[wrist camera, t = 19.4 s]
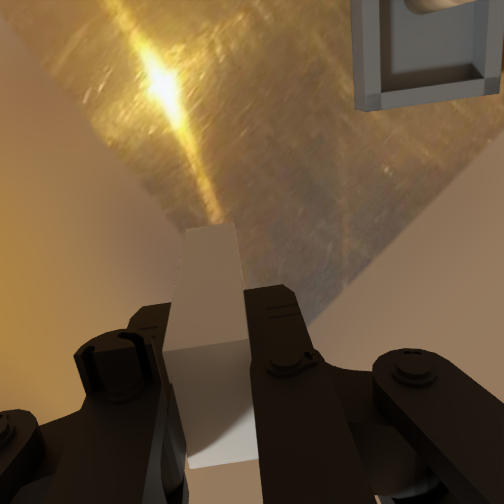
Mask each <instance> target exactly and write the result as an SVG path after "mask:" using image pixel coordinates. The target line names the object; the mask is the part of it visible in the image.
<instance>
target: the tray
mask: <svg viewBox="0 0 504 504" xmlns="http://www.w3.org/2000/svg"><path fill="white" fill-rule="evenodd" d="M350 3H351V27H352V52H353V76H354V101H355V109H356V110H360V111H363V112H370V111H377V110H384V109H391V108H398V107H405V106H413V105H420V104H427V103H434V102H441V101H448V100H455V99H462V98H470V97H477V96H484V95H491V94H498V93H499V91H500V77H501V63H502V50H503V36H504V0H476V1H472V2H469V3H465V4H461V5H458V6H454V7H450V8H447V9H443V10H439V11H436V12H432V13H428V14H424V15H417V14H414V13H412V12H410V11H409V10H408V9H407V7H406V6H405V4H404V1H403V0H350Z"/></svg>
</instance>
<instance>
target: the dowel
mask: <svg viewBox="0 0 504 504" xmlns="http://www.w3.org/2000/svg"><path fill="white" fill-rule="evenodd" d="M403 1H404V4H405V6H406V7H407V9H408V10H409V11H410V12H412V13H414V14H417V15H424V14H428V13H432V12H436V11H439V10H443V9H447V8H450V7H454V6H458V5H461V4H465V3H469V2H472V1H476V0H403Z"/></svg>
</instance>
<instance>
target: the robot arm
mask: <svg viewBox="0 0 504 504" xmlns="http://www.w3.org/2000/svg"><path fill="white" fill-rule="evenodd" d="M73 356H74V359H75V362H76V365H77V368H78V371H79V375H80V378H81V381H82V384H83V387H84V390H85V393H86V398H85V400H84V403H83V405H82V408H81V409H80V410H79V411H76V412H74V413H72V414H70V415H67V416H65V417H62V418H59V419H57V420H54V421H51V422H49V423H46V424H43V425H40V426H39V425H38V422H37V420H36V417H35V416H34V415H33V414H31V412H30V411H25V410H20V409H15V410H7V411H2V412H0V504H188V502H189V490H188V484H187V480H186V476H185V472H184V469H185V455H186V454H187V458H188V462H189V466H190V469H194V468H200V467H206V466H213V465H220V464H226V463H233V462H239V461H246V460H252V459H259V467H260V477H261V486H262V495H263V504H377V502H376V499H375V496H374V495H378V497H379V499H380V502H381V504H504V403H502V402H501V401H500V400H499V399H497V398H496V397H495V396H494V395H492V394H491V393H490V392H488V391H487V390H486V389H484V388H483V387H482V386H481V385H479V384H478V383H477V382H476V381H474V380H473V379H472V378H470V377H469V376H468V375H467V374H465V373H464V372H463V371H461V370H460V369H459V368H458V367H456V366H455V365H454V364H453V363H451V362H450V361H449V360H447V359H445V358H443V357H441V356H440V355H438V354H436V353H433V352H429V351H426V350H422V349H410V348H403V349H398V350H393V351H389V352H387V353H385V354H383V355H381V356H379V357H378V359H377V360H376V361H375V362H374V364H373V368H372V371H356V370H348V369H342V368H338V367H336V366H332V365H330V364H328V363H326V362H325V360H324V358H323V357H322V356H321V354H320V353H319V352H318V351H317V350H315V349H314V348H313V345H312V342H311V339H310V336H309V334H308V331H307V328H306V325H305V322H304V319H303V316H302V315H301V311H300V308H299V306H298V302H297V299H296V296H295V293H294V292H293V291H291V290H290V289H289V288H287V287H286V286H284V285H283V284H282V285H275V286H268V287H261V288H254V289H248V290H245V289H244V283H243V276H242V269H241V263H240V256H239V249H238V243H237V236H236V229H235V222H232V223H225V224H218V225H211V226H204V227H197V228H190V229H186V231H185V236H184V242H183V247H182V252H181V257H180V262H179V267H178V273H177V278H176V283H175V288H174V293H173V298H172V302H170V303H163V304H156V305H149V306H143V307H142V308H140V309H139V310H138V311H137V312H136V313H135V314H134V315H133V316H132V317H131V318H130V321H129V324H128V327H127V329H118V330H114V331H111V332H106V333H104V334H101V335H99V336H97V337H95V338H93V339H91V340H90V341H88V342H87V343H85V344H84V345H82V346H81V347H80V348H79V349H78V351H77V352H76V353H75V354H74V355H73Z"/></svg>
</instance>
